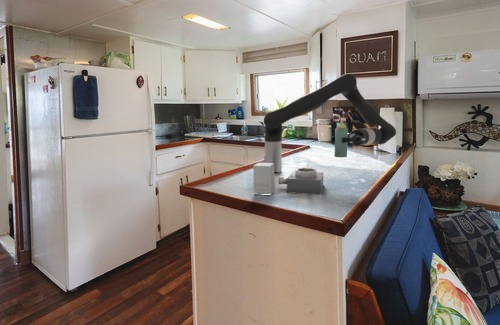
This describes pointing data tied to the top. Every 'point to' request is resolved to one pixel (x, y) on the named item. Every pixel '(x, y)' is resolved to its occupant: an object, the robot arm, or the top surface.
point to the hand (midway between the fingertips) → (337, 139)
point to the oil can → (340, 140)
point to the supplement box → (264, 178)
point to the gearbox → (304, 181)
